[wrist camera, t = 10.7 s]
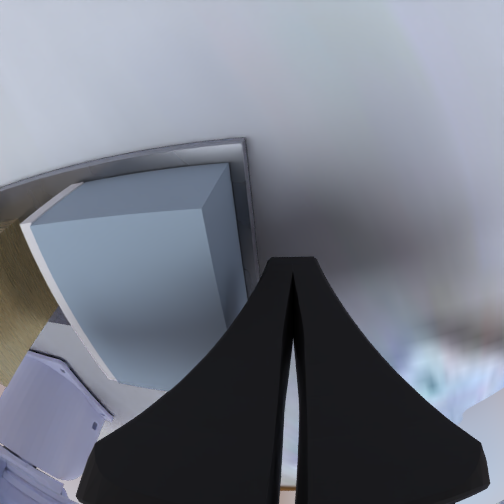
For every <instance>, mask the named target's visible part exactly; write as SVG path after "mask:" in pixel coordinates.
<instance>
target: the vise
mask: <svg viewBox="0 0 504 504" xmlns="http://www.w3.org/2000/svg"><path fill="white" fill-rule="evenodd" d="M228 162H229V169H230V177H231V184H232V192H233V199H234V207H235V214H236V221H237V229H238V236H239V243H240V250H241V257H242V265H243V272H244V279H245V286H246V293H247V300H248V299H249V297H250V295H251V294H252V292H253V291H254V289H255V287H256V285H257V283H258V282H259V280H260V274H259V265H258V255H257V245H256V236H255V226H254V217H253V207H252V198H251V189H250V179H249V170H248V161H247V151H246V142H245V138H233V139H222V140H213V141H204V142H196V143H188V144H181V145H174V146H167V147H161V148H155V149H149V150H143V151H137V152H132V153H127V154H122V155H117V156H112V157H107V158H103V159H98V160H94V161H90V162H85V163H81V164H77V165H73V166H70V167H66V168H62V169H58V170H55V171H51V172H48V173H44V174H41V175H37V176H34V177H31V178H28V179H25V180H22V181H18V182H15V183H12V184H10V185H7V186H4V187H1V188H0V222H2V221H7V220H12V219H19V222H20V224H21V223H22V222H23V221H24V220H25V219H27V218H28V217H29V216H30V215H31V214H33V213H34V212H35V211H36V210H38V209H39V208H40V207H42V206H43V205H44V204H45V203H47V202H48V201H49V200H51V199H52V198H53V197H55V196H56V195H57V194H59V193H60V192H61V191H63V190H64V189H66V188H67V187H68V186H70V185H71V184H76V183H81V182H84V183H85V182H89V181H94V180H99V179H105V178H111V177H116V176H122V175H128V174H135V173H141V172H148V171H155V170H163V169H170V168H178V167H187V166H196V165H206V164H217V163H228ZM48 322H53V323H59V324H65V325H70V323H69V321H68V320H67V318H66V316H65V315H64V313H63V311H62V310H61V308H60V306H58V307H57V309H56V310H55V312H54V313H53V314H52V316H51V317H50V319H49V320H48Z"/></svg>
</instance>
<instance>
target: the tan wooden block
mask: <svg viewBox="0 0 504 504" xmlns="http://www.w3.org/2000/svg"><path fill="white" fill-rule="evenodd" d="M58 306H59V304H58V303H57V301H56V299H55V297H54V296H53V294H52V292H51V290H50V288H49V286H48V285H47V283H46V281H45V279H44V277H43V275H42V273H41V271H40V269H39V267H38V265H37V263H36V261H35V259H34V257H33V254H32V252H31V250H30V248H29V246H28V243H27V241H26V239H25V237H24V234H23V232H22V229H21V227H20V222H19V219H12V220H7V221H2V222H0V384H2V385H3V386H5V387H7V386H8V384H9V382H10V381H11V379H12V377H13V375H14V374H15V372H16V370H17V368H18V367H19V365H20V363H21V362H22V360H23V359H24V357H25V355H26V354H27V352H28V350H29V349H30V347H31V346H32V344H33V343H34V341H35V339H36V338H37V336H38V335H39V333H40V332H41V330H42V329H43V327H44V326H45V324H46V323H47V322H48V320H49V319H50V317H51V316H52V314H53V313H54V312H55V310H56V309H57V307H58Z"/></svg>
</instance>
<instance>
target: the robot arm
mask: <svg viewBox="0 0 504 504" xmlns="http://www.w3.org/2000/svg"><path fill="white" fill-rule="evenodd" d="M293 340H294V351H295V361H296V372H297V383H298V395H299V442H298V465H297V482H296V497H295V504H455V503H456V502H459V501H461V500H463V499H466V498H468V497H470V496H472V495H475V494H477V493H479V492H481V491H483V490H485V489H487V488H488V486H489V484H490V479H489V473H488V467H487V461H486V457H485V454H484V451H483V448H482V445H481V443H480V442H479V441H478V440H476V439H475V438H473V437H472V436H470V435H469V434H468V433H467V432H465V431H464V430H462V429H461V428H460V427H458V426H457V425H455V424H454V423H453V422H451V421H450V420H449V419H448V418H446V417H445V416H444V415H443V414H441V413H440V412H439V411H438V410H437V409H436V408H434V407H433V406H432V405H431V404H430V403H429V402H427V401H426V400H425V399H424V398H423V397H422V396H421V395H420V394H419V393H418V392H417V391H416V390H415V389H414V388H413V387H411V386H410V385H409V384H408V383H407V382H406V381H405V380H404V379H403V378H402V377H401V376H400V375H399V374H398V373H397V372H396V371H395V370H394V369H393V368H392V367H391V366H390V365H389V363H388V362H387V361H386V360H385V359H384V358H383V357H382V356H381V355H380V353H379V352H378V351H377V350H376V349H375V348H374V346H373V345H372V344H371V343H370V342H369V340H368V339H367V338H366V337H365V335H364V334H363V333H362V332H361V330H360V329H359V328H358V326H357V325H356V324H355V322H354V321H353V319H352V318H351V317H350V315H349V314H348V312H347V311H346V310H345V308H344V307H343V305H342V303H341V302H340V300H339V299H338V297H337V296H336V294H335V293H334V291H333V289H332V288H331V286H330V284H329V283H328V281H327V279H326V277H325V275H324V273H323V272H322V270H321V268H320V265H319V263H318V261H317V259H316V258H315V257H314V256H311V257H272V258H270V259H269V260H268V262H267V265H266V267H265V269H264V272H263V274H262V276H261V278H260V280H259V282H258V283H257V285H256V287H255V289H254V291H253V292H252V294H251V295H250V297H249V299H248V300H247V302H246V304H245V305H244V307H243V308H242V310H241V311H240V313H239V314H238V316H237V317H236V318H235V320H234V321H233V323H232V324H231V325H230V327H229V328H228V329H227V331H226V332H225V333H224V335H223V336H222V337H221V338H220V340H219V341H218V342H217V343H216V344H215V346H214V347H213V348H212V349H211V350H210V351H209V352H208V353H207V355H206V356H205V357H204V358H203V359H202V360H201V361H200V362H199V363H198V364H197V365H196V366H195V367H194V368H193V369H192V370H191V371H190V372H189V373H188V374H187V375H186V376H185V377H184V378H183V379H182V380H181V381H180V382H179V383H178V384H176V385H175V386H174V387H173V388H172V389H171V390H169V391H168V392H167V393H166V394H165V395H163V396H162V397H161V398H160V399H158V400H157V401H156V402H155V403H154V404H152V405H151V406H150V407H149V408H147V409H146V410H145V411H143V412H142V413H141V414H139V415H138V416H137V417H135V418H134V419H132V420H131V421H129V422H128V423H126V424H125V425H123V426H121V427H120V428H118V429H117V430H115V431H114V432H112V433H111V434H109V435H107V436H106V437H104V438H102V439H101V440H99V441H97V439H98V437H99V434H100V431H101V429H102V426H103V424H104V421H105V420H107V421H110V422H112V421H113V417H112V416H111V415H110V414H109V413H108V412H107V411H106V410H105V409H104V408H103V407H102V406H101V405H100V403H99V402H98V401H97V400H96V399H95V398H94V397H93V396H92V395H91V394H90V393H89V391H88V390H87V389H86V388H85V387H84V386H83V385H82V383H81V382H80V381H79V380H78V379H77V378H76V376H75V375H74V374H73V373H72V371H71V370H70V369H69V368H68V367H67V365H66V364H65V363H64V362H63V361H61V360H59V359H55V358H52V357H48V356H45V355H41V354H38V353H35V352H32V351H28V352H27V354H26V355H25V357H24V359H23V360H22V362H21V363H20V365H19V367H18V368H17V370H16V372H15V374H14V375H13V377H12V379H11V381H10V382H9V384H8V386H7V387H6V388H5V389H4V391H3V393H2V395H1V397H0V443H1V444H3V445H4V446H1V445H0V504H78V503H76V502H74V501H72V500H70V499H69V498H68V496H67V493H66V491H65V489H64V488H63V485H64V484H63V483H61V482H59V481H57V480H55V479H54V478H52V477H50V476H48V475H46V474H45V473H43V472H41V471H39V470H38V469H36V467H38V468H40V469H41V470H43V471H45V472H47V473H49V474H50V475H52V476H54V477H56V478H58V479H61V480H74V479H76V478H78V477H79V476H81V475H82V478H81V481H80V484H79V487H78V490H77V493H76V497H77V499H78V500H79V502H81V503H83V504H279V496H280V482H281V465H282V448H283V429H284V410H285V400H286V393H287V385H288V377H289V370H290V361H291V353H292V344H293ZM497 504H504V500H503V501H501V502H499V503H497Z"/></svg>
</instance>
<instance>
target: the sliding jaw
mask: <svg viewBox="0 0 504 504" xmlns="http://www.w3.org/2000/svg"><path fill="white" fill-rule="evenodd" d="M20 227H21V229H22V232H23V234H24V237H25V239H26V241H27V243H28V246H29V248H30V250H31V252H32V254H33V257H34V259H35V261H36V263H37V265H38V267H39V269H40V271H41V273H42V275H43V277H44V279H45V281H46V283H47V285H48V286H49V288H50V290H51V292H52V294H53V296H54V297H55V299H56V301H57V303H58V304H59V306H60V308H61V310H62V311H63V313H64V315H65V316H66V318H67V320H68V321H69V323H70V325H71V326H72V328H73V329H74V331H75V332H76V334H77V335H78V337H79V339H80V340H81V342H82V343H83V345H84V346H85V348H86V349H87V350H88V352H89V353H90V355H91V356H92V358H93V359H94V360H95V362H96V363H97V365H98V366H99V367H100V369H101V370H102V371H103V373H104V374H105V375H106V377H107V378H108V379H110V380H115V381H118V382H119V383H122V384H127V385H132V386H138V387H143V388H149V389H156V390H162V391H169V390H171V389H172V388H173V387H174V386H175V385H176V384H178V383H179V382H180V381H181V380H182V379H183V378H184V377H185V376H186V375H187V374H188V373H189V372H190V371H191V370H192V369H193V368H194V367H195V366H196V365H197V364H198V363H199V362H200V361H201V360H202V359H203V358H204V357H205V356H206V355H207V353H208V352H209V351H210V350H211V349H212V348H213V347H214V346H215V344H216V343H217V342H218V341H219V340H220V338H221V337H222V336H223V335H224V333H225V332H226V331H227V329H228V328H229V327H230V325H231V324H232V323H233V321H234V320H235V318H236V317H237V316H238V314H239V313H240V311H241V310H242V308H243V307H244V305H245V304H246V302H247V293H246V286H245V279H244V272H243V265H242V257H241V250H240V243H239V236H238V229H237V221H236V214H235V207H234V199H233V192H232V184H231V177H230V169H229V162H228V163H217V164H206V165H196V166H187V167H178V168H170V169H163V170H155V171H148V172H141V173H135V174H128V175H122V176H116V177H111V178H105V179H99V180H94V181H89V182H85V183H84V182H81V183H76V184H71V185H70V186H68V187H67V188H66V189H64V190H63V191H61V192H60V193H59V194H57V195H56V196H55V197H53V198H52V199H51V200H49V201H48V202H47V203H45V204H44V205H43V206H42V207H40V208H39V209H38V210H36V211H35V212H34V213H33V214H31V215H30V216H29V217H28V218H27V219H25V220H24V221H23V222H22V223H21V224H20Z"/></svg>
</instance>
